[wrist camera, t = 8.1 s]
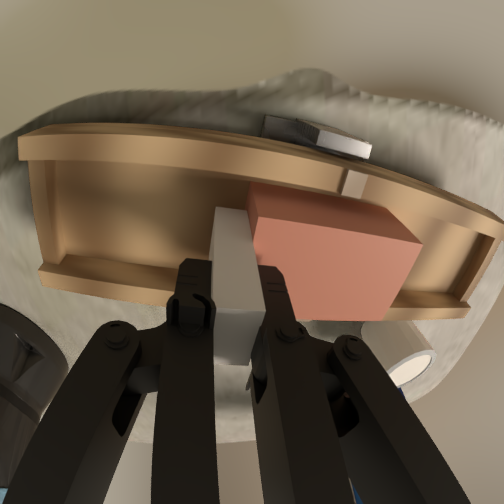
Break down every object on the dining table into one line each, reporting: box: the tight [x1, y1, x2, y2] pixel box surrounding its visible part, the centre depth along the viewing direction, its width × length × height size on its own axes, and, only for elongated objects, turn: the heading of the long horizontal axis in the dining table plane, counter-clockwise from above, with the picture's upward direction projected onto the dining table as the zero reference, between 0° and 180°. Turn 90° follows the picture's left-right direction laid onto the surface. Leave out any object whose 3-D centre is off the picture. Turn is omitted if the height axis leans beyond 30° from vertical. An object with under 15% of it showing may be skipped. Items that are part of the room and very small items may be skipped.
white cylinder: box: [361, 320, 437, 388], centre depth 25 cm, size 7×7×7 cm
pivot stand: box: [260, 115, 372, 162], centre depth 18 cm, size 7×11×5 cm, turn 169°
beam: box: [18, 123, 504, 322], centre depth 15 cm, size 32×9×3 cm, turn 79°
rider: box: [245, 181, 423, 321], centre depth 14 cm, size 8×5×4 cm, turn 79°
